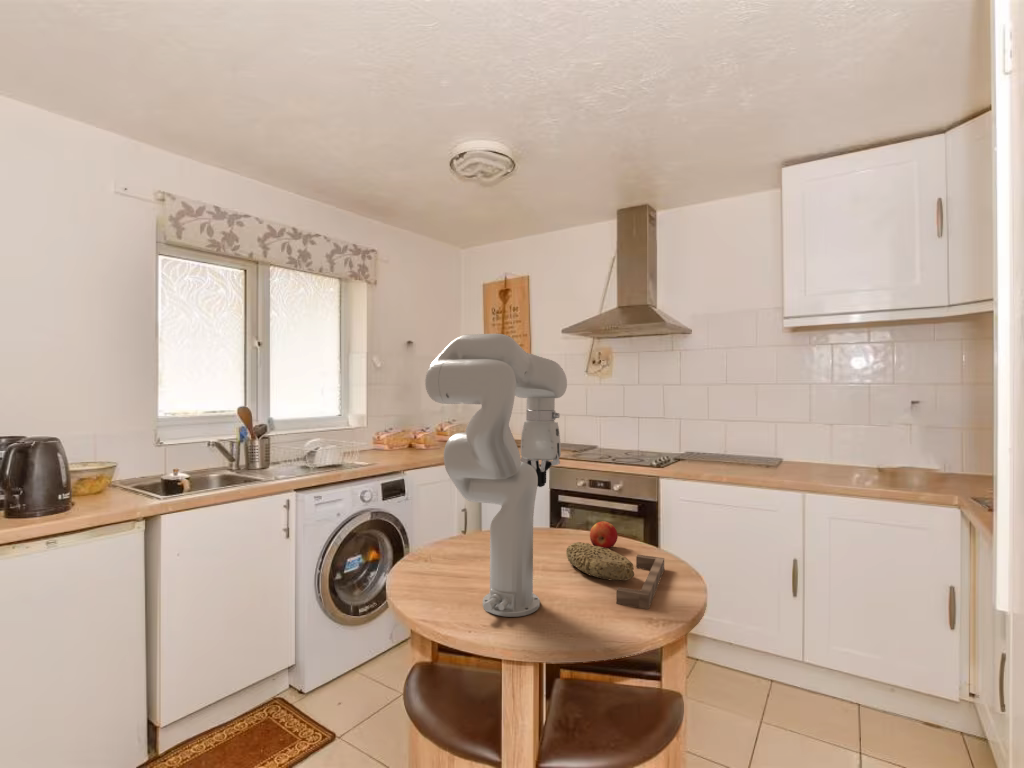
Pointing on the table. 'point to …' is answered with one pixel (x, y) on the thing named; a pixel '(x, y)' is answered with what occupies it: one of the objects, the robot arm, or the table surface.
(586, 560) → the sponge
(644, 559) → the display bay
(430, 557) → the table surface
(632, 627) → the table surface
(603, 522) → the apple
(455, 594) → the table surface
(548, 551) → the table surface
